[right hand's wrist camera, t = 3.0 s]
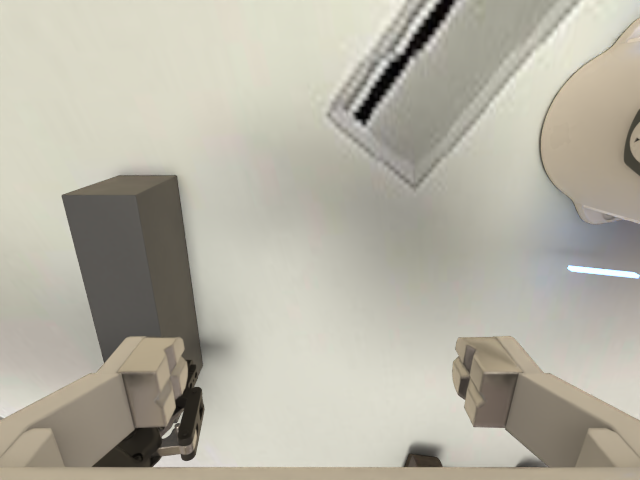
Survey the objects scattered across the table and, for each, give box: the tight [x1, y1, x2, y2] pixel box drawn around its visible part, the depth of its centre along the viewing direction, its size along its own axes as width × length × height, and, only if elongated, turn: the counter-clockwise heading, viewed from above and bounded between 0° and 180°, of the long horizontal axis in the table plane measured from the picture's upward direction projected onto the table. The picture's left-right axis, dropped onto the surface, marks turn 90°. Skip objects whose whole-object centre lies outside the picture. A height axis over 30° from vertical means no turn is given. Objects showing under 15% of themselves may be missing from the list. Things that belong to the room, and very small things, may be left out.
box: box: [62, 175, 203, 423], centre depth 36 cm, size 24×6×9 cm, turn 0°
